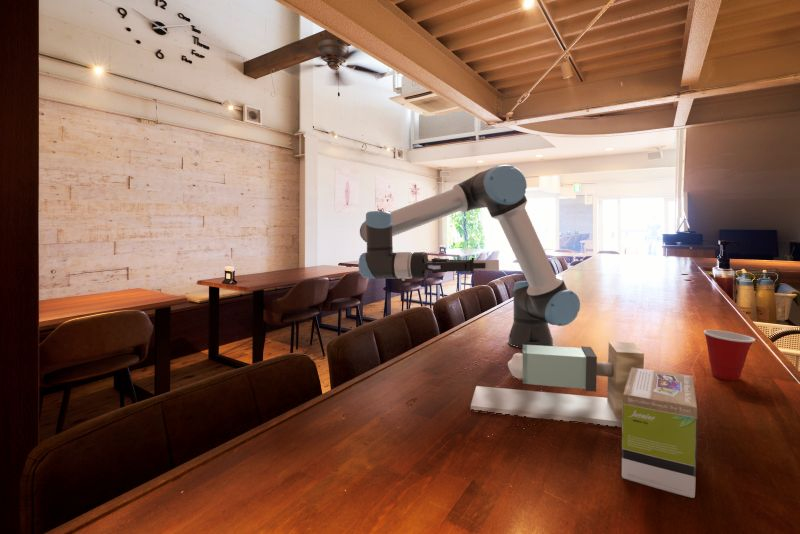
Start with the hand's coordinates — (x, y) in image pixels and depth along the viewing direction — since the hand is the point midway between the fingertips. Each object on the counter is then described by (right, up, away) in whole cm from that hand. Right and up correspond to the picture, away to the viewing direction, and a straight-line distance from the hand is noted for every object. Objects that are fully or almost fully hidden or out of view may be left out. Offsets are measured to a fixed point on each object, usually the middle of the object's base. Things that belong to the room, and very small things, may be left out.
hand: (498, 265), depth 105 cm
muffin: (+7, -32, +6) cm, 33 cm away
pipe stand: (+9, -33, -14) cm, 37 cm away
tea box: (+18, -35, -37) cm, 54 cm away
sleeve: (+9, -26, -15) cm, 31 cm away
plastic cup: (+62, -31, +2) cm, 69 cm away
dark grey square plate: (+16, -27, -17) cm, 35 cm away
